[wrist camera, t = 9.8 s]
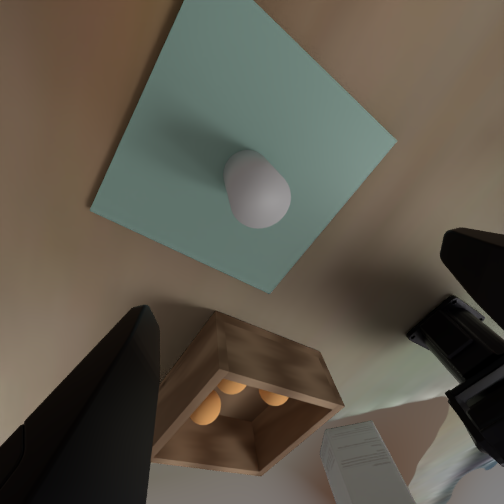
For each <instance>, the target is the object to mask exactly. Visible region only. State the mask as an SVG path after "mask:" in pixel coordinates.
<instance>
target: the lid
mask: <svg viewBox="0 0 504 504" xmlns="http://www.w3.org/2000/svg"><path fill="white" fill-rule="evenodd" d="M396 142H397V140H396V139H395V138H394V137H393V136H392V135H391V134H390V133H389V132H388V131H387V130H386V129H385V128H383V127H382V126H381V125H380V124H379V123H378V122H377V121H376V120H375V119H374V118H373V117H372V116H371V115H370V114H369V113H368V112H367V111H366V110H365V109H364V108H363V107H362V106H361V105H360V104H359V103H358V102H357V101H356V100H355V99H354V98H353V97H352V96H351V95H350V94H349V93H348V92H347V91H346V90H345V89H343V88H342V87H341V86H340V85H339V84H338V83H337V82H336V81H335V80H334V79H333V78H332V77H331V76H330V75H329V74H328V73H327V72H326V71H325V70H324V69H323V68H322V67H321V66H320V65H319V64H318V63H317V62H316V61H315V60H314V59H313V58H312V57H311V56H310V55H309V54H308V53H307V52H306V51H305V50H304V49H302V48H301V47H300V46H299V45H298V44H297V43H296V42H295V41H294V40H293V39H292V38H291V37H290V36H289V35H288V34H287V33H286V32H285V31H284V30H283V29H282V28H281V27H280V26H279V25H278V24H277V23H276V22H275V21H274V20H273V19H272V18H271V17H270V16H269V15H268V14H267V13H266V12H265V11H264V10H262V9H261V8H260V7H259V6H258V5H257V4H256V3H255V2H254V1H253V0H184V2H183V4H182V6H181V9H180V11H179V13H178V15H177V17H176V20H175V22H174V24H173V26H172V29H171V31H170V33H169V35H168V37H167V40H166V42H165V44H164V46H163V49H162V51H161V53H160V55H159V57H158V60H157V62H156V64H155V66H154V69H153V71H152V73H151V75H150V77H149V80H148V82H147V84H146V86H145V89H144V91H143V93H142V95H141V97H140V100H139V102H138V104H137V106H136V109H135V111H134V113H133V115H132V117H131V120H130V122H129V124H128V126H127V129H126V131H125V133H124V135H123V137H122V140H121V142H120V144H119V146H118V149H117V151H116V153H115V155H114V157H113V160H112V162H111V164H110V166H109V168H108V171H107V173H106V175H105V177H104V180H103V182H102V184H101V186H100V188H99V191H98V193H97V195H96V197H95V200H94V202H93V204H92V206H91V208H90V211H91V212H94V213H96V214H98V215H100V216H102V217H104V218H106V219H109V220H111V221H113V222H115V223H117V224H119V225H122V226H124V227H126V228H128V229H130V230H132V231H135V232H137V233H139V234H141V235H143V236H145V237H148V238H150V239H152V240H154V241H156V242H158V243H160V244H163V245H165V246H167V247H169V248H171V249H173V250H176V251H178V252H180V253H182V254H184V255H186V256H189V257H191V258H193V259H195V260H197V261H199V262H201V263H204V264H206V265H208V266H210V267H212V268H214V269H217V270H219V271H221V272H223V273H225V274H227V275H230V276H232V277H234V278H236V279H238V280H240V281H242V282H245V283H247V284H249V285H251V286H253V287H255V288H258V289H260V290H262V291H264V292H266V293H268V294H270V293H271V292H272V291H273V290H274V288H275V287H276V286H277V285H278V284H279V282H280V281H281V280H282V279H283V278H284V276H285V275H286V274H287V273H288V272H289V270H290V269H291V268H292V267H293V266H294V264H295V263H296V262H297V261H298V260H299V258H300V257H301V256H302V255H303V254H304V252H305V251H306V250H307V249H308V247H309V246H310V245H311V244H312V243H313V241H314V240H315V239H316V238H317V237H318V235H319V234H320V233H321V232H322V231H323V229H324V228H325V227H326V226H327V225H328V223H329V222H330V221H331V220H332V219H333V217H334V216H335V215H336V214H337V213H338V211H339V210H340V209H341V208H342V207H343V205H344V204H345V203H346V202H347V201H348V199H349V198H350V197H351V196H352V195H353V193H354V192H355V191H356V190H357V189H358V187H359V186H360V185H361V184H362V183H363V181H364V180H365V179H366V178H367V177H368V175H369V174H370V173H371V172H372V171H373V169H374V168H375V167H376V166H377V165H378V163H379V162H380V161H381V160H382V159H383V157H384V156H385V155H386V154H387V153H388V151H389V150H390V149H391V148H392V147H393V145H394V144H395V143H396Z"/></svg>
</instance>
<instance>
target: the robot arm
mask: <svg viewBox="0 0 504 504" xmlns="http://www.w3.org/2000/svg"><path fill="white" fill-rule="evenodd" d="M440 258H441V260H442V262H443V263H444V264H445V266H446V267H447V268H448V269H449V271H450V272H451V273H452V274H453V275H454V277H455V278H456V279H457V280H458V282H459V283H460V284H461V285H462V286H463V288H464V289H465V290H466V291H467V293H468V294H469V295H470V296H471V297H472V298H473V300H474V301H475V302H476V303H477V304H478V305H479V306H480V307H481V308H482V309H483V310H484V311H485V312H486V313H487V314H488V315H489V316H490V317H491V318H492V319H493V320H494V321H495V322H496V323H497V324H498V325H499V326H500V327H501V328H502V329H503V330H504V235H503V234H497V233H491V232H485V231H480V230H474V229H468V228H456V229H452V230H448V231H447V232H446V233H445V234H444V237H443V242H442V246H441V251H440ZM484 319H485V317H484V316H483V315H481V314H480V313H479V312H477V311H476V310H474V309H473V308H471V307H470V306H469V305H467V304H466V303H464V302H463V301H461V300H460V299H459V298H457V297H456V296H451V297H449V298H448V299H447V300H446V301H445V302H443V303H442V304H441V305H440V306H439V307H438V308H436V309H435V310H434V311H433V312H432V313H431V314H430V315H428V316H427V317H426V318H425V319H424V320H423V321H421V322H420V323H419V324H418V325H417V326H416V327H415V328H413V329H412V330H411V331H410V332H409V333H408V334H407V338H408V339H409V340H410V341H412V342H414V343H416V344H418V345H420V346H422V347H424V348H426V349H428V350H430V351H431V352H432V353H433V354H434V355H435V356H436V357H437V358H438V360H439V361H440V362H441V363H442V364H443V365H444V366H445V367H446V369H447V370H448V371H449V372H450V373H451V374H452V375H453V377H454V378H455V379H456V380H457V381H458V382H459V383H460V384H459V385H458V386H456V387H455V388H453V389H452V390H448V391H447V392H445V394H446V396H447V397H448V399H449V400H448V403H449V404H450V405H451V407H452V408H453V409H454V410H455V412H456V413H457V414H458V416H459V417H460V419H461V420H462V422H463V423H464V425H465V427H466V429H467V431H468V432H469V434H470V436H471V438H472V440H473V442H474V443H475V445H476V447H477V448H478V449H479V450H480V451H481V452H483V453H485V454H488V455H490V456H491V457H492V458H493V459H495V460H496V461H497V462H498V463H499V464H500V465H501V466H503V467H504V339H502V338H501V337H500V336H499V335H497V334H496V333H495V332H494V331H493V330H491V329H490V328H489V327H488V326H487V325H485V324H484V323H483V322H482V321H483V320H484ZM159 383H160V330H159V325H158V323H157V321H156V319H155V317H154V315H153V313H152V311H151V309H150V307H149V306H148V305H141V306H136V307H133V308H131V309H130V310H129V311H128V312H127V314H126V315H125V316H124V317H123V318H122V319H121V320H120V321H119V322H118V323H117V324H116V325H115V326H114V327H113V328H112V329H111V330H110V331H109V333H108V334H107V335H106V336H105V337H104V338H103V339H102V340H101V341H100V342H99V343H98V344H97V345H96V346H95V347H94V348H93V349H92V350H91V352H90V353H89V354H88V355H87V356H86V357H85V358H84V359H83V360H82V361H81V362H80V363H79V364H78V365H77V366H76V367H75V368H74V369H73V371H72V372H71V373H70V374H69V375H68V376H67V377H66V378H65V379H64V380H63V381H62V382H61V383H60V384H59V385H58V386H57V387H56V388H55V389H54V391H53V392H52V393H51V394H50V395H49V396H48V397H47V398H46V399H45V400H44V401H43V402H42V403H41V404H40V405H39V406H38V407H37V408H36V410H35V411H34V412H33V413H32V414H31V415H30V416H29V417H28V418H27V419H26V420H25V421H24V424H22V425H20V426H19V427H18V428H17V429H16V431H15V432H14V433H13V434H12V435H11V436H10V437H9V438H8V439H7V440H6V441H5V442H4V443H3V444H2V445H1V446H0V504H146V498H147V489H148V480H149V471H150V463H151V454H152V445H153V437H154V428H155V419H156V411H157V402H158V393H159Z"/></svg>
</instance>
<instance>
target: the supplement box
mask: <svg viewBox="0 0 504 504" xmlns="http://www.w3.org/2000/svg"><path fill="white" fill-rule="evenodd" d="M320 457H321V459H322V462H323V465H324V468H325V471H326V474H327V477H328V480H329V483H330V486H331V489H332V492H333V495H334V498H335V501H336V504H416V502H415V500H414V499H413V497H412V495H411V493H410V491H409V489H408V487H407V485H406V483H405V482H404V480H403V478H402V476H401V474H400V472H399V470H398V468H397V466H396V465H395V463H394V461H393V459H392V457H391V455H390V453H389V451H388V449H387V448H386V445H385V444H384V442H383V440H382V438H381V436H380V434H379V433H378V431H377V429H376V427H375V425H374V423H373V421H367V422H363V423H357V424H352V425H347V426H341V427H336V428H331V429H326V430H325V433H324V437H323V441H322V445H321V450H320Z"/></svg>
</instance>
